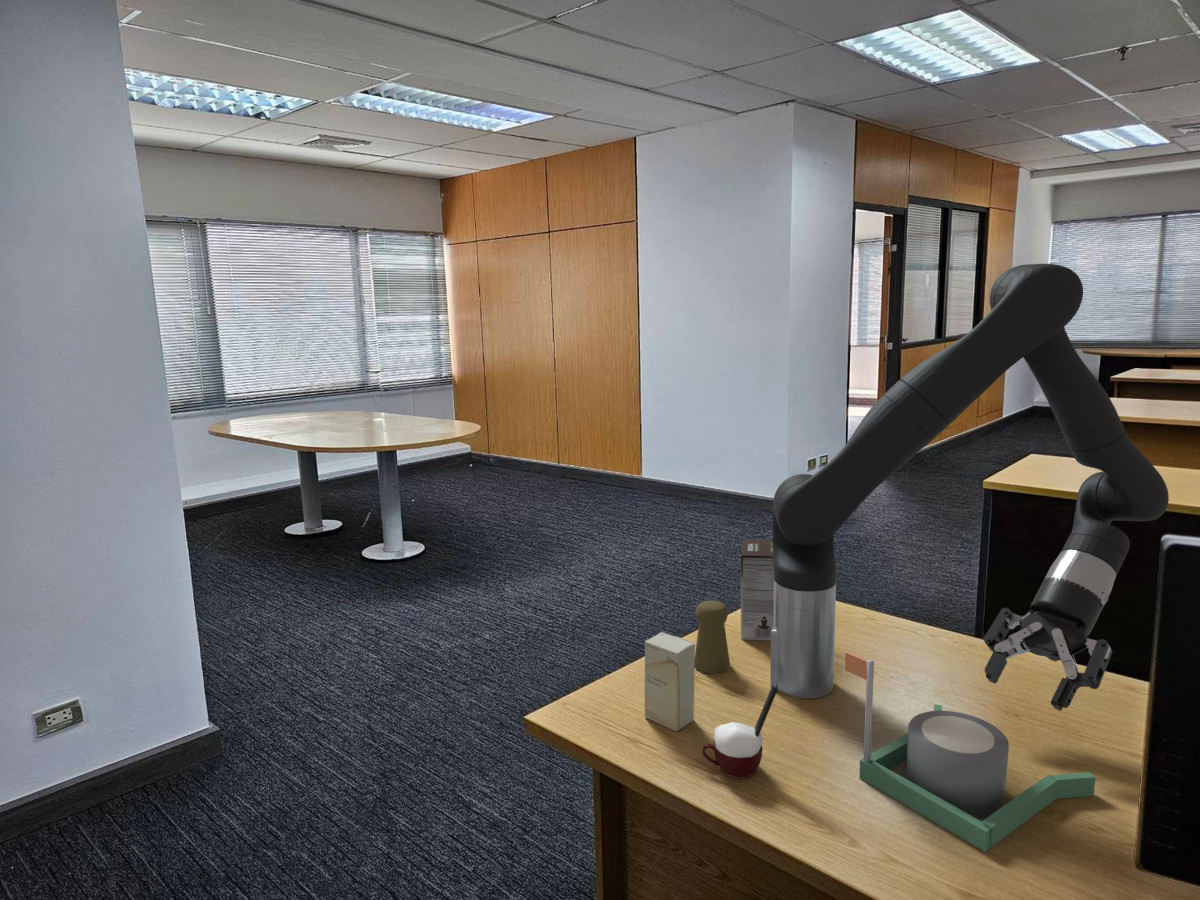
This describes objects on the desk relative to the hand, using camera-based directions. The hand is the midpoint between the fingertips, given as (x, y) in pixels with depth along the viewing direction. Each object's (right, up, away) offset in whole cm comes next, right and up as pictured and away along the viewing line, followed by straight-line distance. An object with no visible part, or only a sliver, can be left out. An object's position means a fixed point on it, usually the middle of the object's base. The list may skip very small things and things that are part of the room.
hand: (1021, 693), depth 101 cm
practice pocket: (-10, -9, -5) cm, 15 cm away
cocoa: (-37, -10, -1) cm, 39 cm away
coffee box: (-26, -1, +40) cm, 48 cm away
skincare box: (-45, -8, +11) cm, 47 cm away
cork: (-37, -4, +27) cm, 46 cm away
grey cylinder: (-12, -10, -7) cm, 17 cm away
